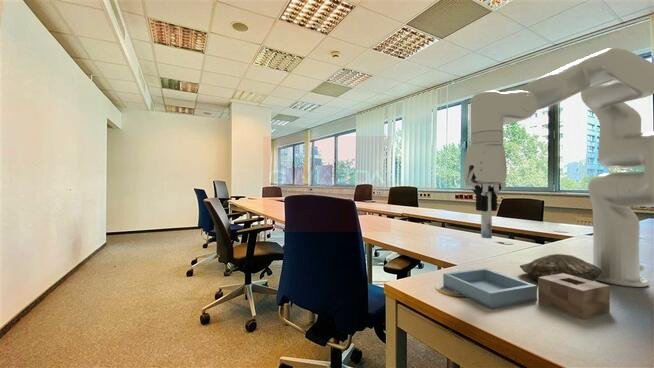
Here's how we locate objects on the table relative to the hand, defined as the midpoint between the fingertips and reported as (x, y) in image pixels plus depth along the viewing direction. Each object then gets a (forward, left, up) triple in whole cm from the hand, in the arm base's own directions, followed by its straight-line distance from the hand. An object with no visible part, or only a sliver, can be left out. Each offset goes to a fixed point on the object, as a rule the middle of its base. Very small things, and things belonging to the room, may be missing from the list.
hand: (486, 210), depth 73 cm
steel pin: (0, 0, -7) cm, 7 cm away
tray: (0, 0, -22) cm, 22 cm away
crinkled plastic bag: (-28, -1, -22) cm, 36 cm away
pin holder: (-11, +13, -22) cm, 28 cm away
